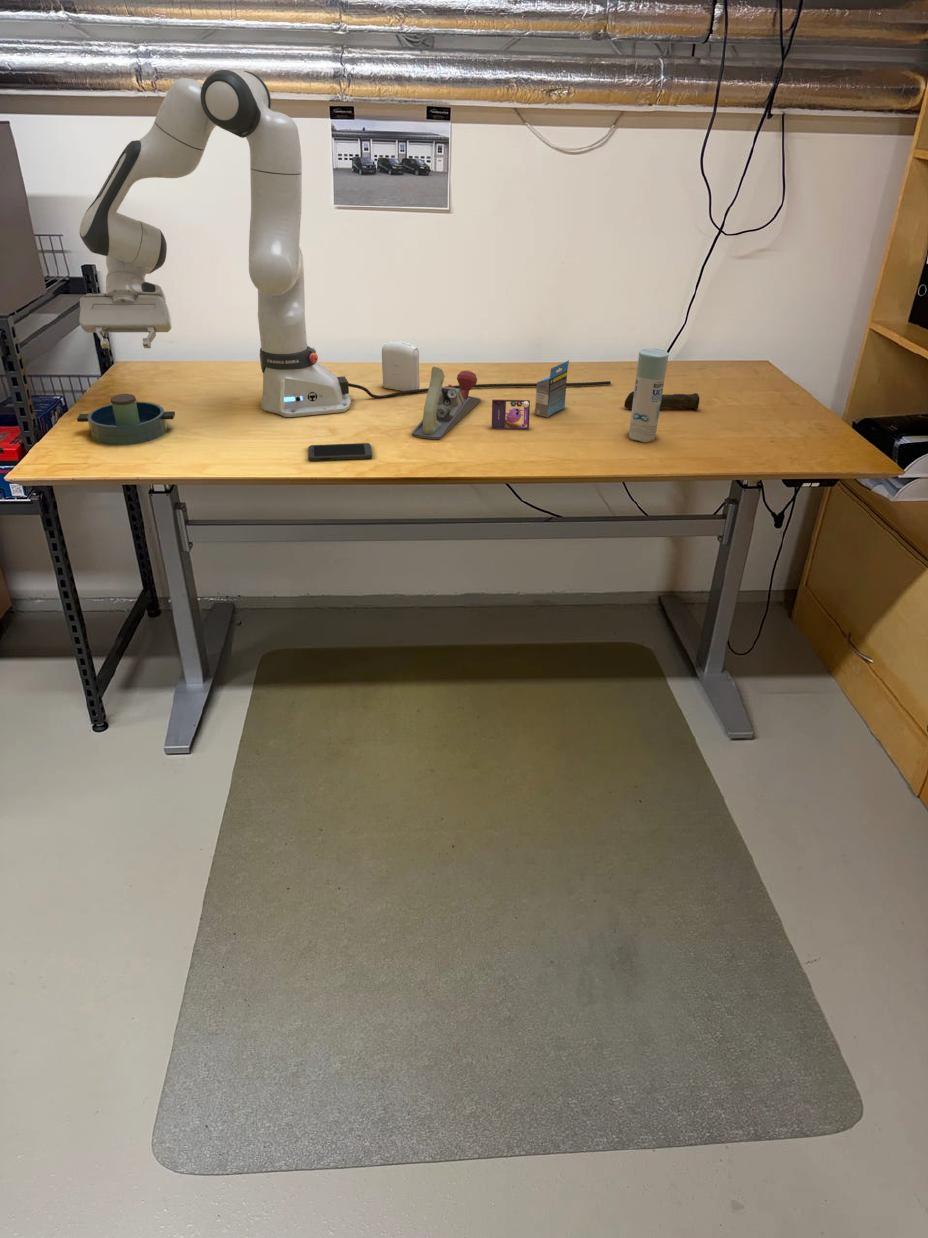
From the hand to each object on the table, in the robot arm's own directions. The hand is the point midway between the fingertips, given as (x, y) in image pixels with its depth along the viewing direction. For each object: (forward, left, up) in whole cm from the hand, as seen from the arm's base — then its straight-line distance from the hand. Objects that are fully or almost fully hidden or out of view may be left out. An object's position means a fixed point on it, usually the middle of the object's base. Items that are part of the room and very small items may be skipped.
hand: (125, 347), depth 201 cm
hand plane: (-75, +9, -16) cm, 77 cm away
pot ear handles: (0, +13, -13) cm, 18 cm away
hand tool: (-130, +8, -16) cm, 131 cm away
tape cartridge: (-101, +7, -16) cm, 103 cm away
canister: (0, +13, -16) cm, 20 cm away
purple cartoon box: (-89, +16, -16) cm, 92 cm away
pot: (0, +13, -16) cm, 20 cm away
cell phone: (-48, +30, -16) cm, 59 cm away
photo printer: (-65, -13, -16) cm, 68 cm away
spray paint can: (-119, +26, -16) cm, 123 cm away
